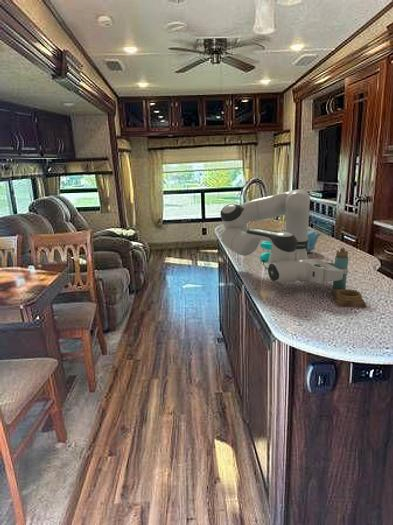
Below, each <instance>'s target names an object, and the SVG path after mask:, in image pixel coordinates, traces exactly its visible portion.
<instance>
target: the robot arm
mask: <svg viewBox="0 0 393 525" xmlns="http://www.w3.org/2000/svg"><path fill="white" fill-rule="evenodd" d="M310 204H311V197H310V194H309V192H307V191H306V190H305V189H301V188H300V189H293V190H289V191H283V192H281V193H277V194H272V195H269V196H264V197H260V198H256V199H252V200H249V201H246V202H243V203H242V204H236V203H230V204H227V205H225V206H223V207H222V208H221V210H220V218H221V221H222V223H223V227H224V230H223V232H222V233H221V238H220V239H221V243H222V244H223V245H224V246H225V247H226V248H227V249H229V250H231V251H232V252H234V253H235V254H237V255H240V256H243V257H244V256H249V255H251V254H253V253H254V252H255V251H256V250H257V249H258V246H259V244H260V243H261V240H262V241H270V242H271V244H272V250H271V251H270V253H271V254H270V256H269V261H264V265H263V267H264V268H266V269H267V272H268V277H269V278H270V280H271V281H272V282H274V283H275V282H276V283H295V282H312V283H315V284H324V282H325V283H330V282H333V281H339V280H341V279H342V278H343V274H347V275H348V273H349V269H348V268H347V269H346V268H343V269H341V270H340V269H338V268H336V267H334V266H335V262H331V261H330V262H327V261H323V260H321V259H319V258H308V253H307V251H308V240H307V239H308V229H309V224H310V222H309V221H310V220H309V219H310ZM281 216H285V229H284V230H285V232H284V231H275V230H271V229H265V228H264V229H263V228H257V227H256V228H248V227H249V226H248V224H247V223H249V222H258V221H263V220H267V219H268V220H269V219H273V218H278V217H281Z"/></svg>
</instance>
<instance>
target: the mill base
mask: <svg viewBox="0 0 393 525" xmlns="http://www.w3.org/2000/svg"><path fill="white" fill-rule="evenodd" d="M330 293H331V295H332V297H333V299H334V301H335V303H336V305H337V307H349V308H363V309H365V308H367V303H366V301H365V300H364V299H363V298H362V296H363V295H362V293H361V292H359V291H358V290H356V289H346V288H345V289H333V288H330Z"/></svg>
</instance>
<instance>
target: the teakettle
mask: <svg viewBox="0 0 393 525" xmlns="http://www.w3.org/2000/svg"><path fill="white" fill-rule="evenodd" d="M282 232H285V229H282ZM321 235H324V233H322V232H318V233H317V231H316V230H315V231H314V230H311V228H309V227H308V239H307V240H308V251H307V254H309V253H308V252H311V253H312V251H313V250H315V247H316V244H317V241H318V239H319V237H320V236H321Z"/></svg>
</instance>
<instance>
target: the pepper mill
mask: <svg viewBox="0 0 393 525" xmlns="http://www.w3.org/2000/svg"><path fill="white" fill-rule="evenodd" d="M335 253H336V255H335V256H334V257H335V258H334V263H335V266H334V267H336V268H338V269H340V270H341V269H343V268H346V269H348V268H349V267H348V266H349V258H350V257H349V251H348V250H346V249H345V247H340V249H338V250H336V252H335ZM347 276H348V273H347V274H343V278H342V279H341V280H339V281H332V289H346V286H347Z"/></svg>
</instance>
